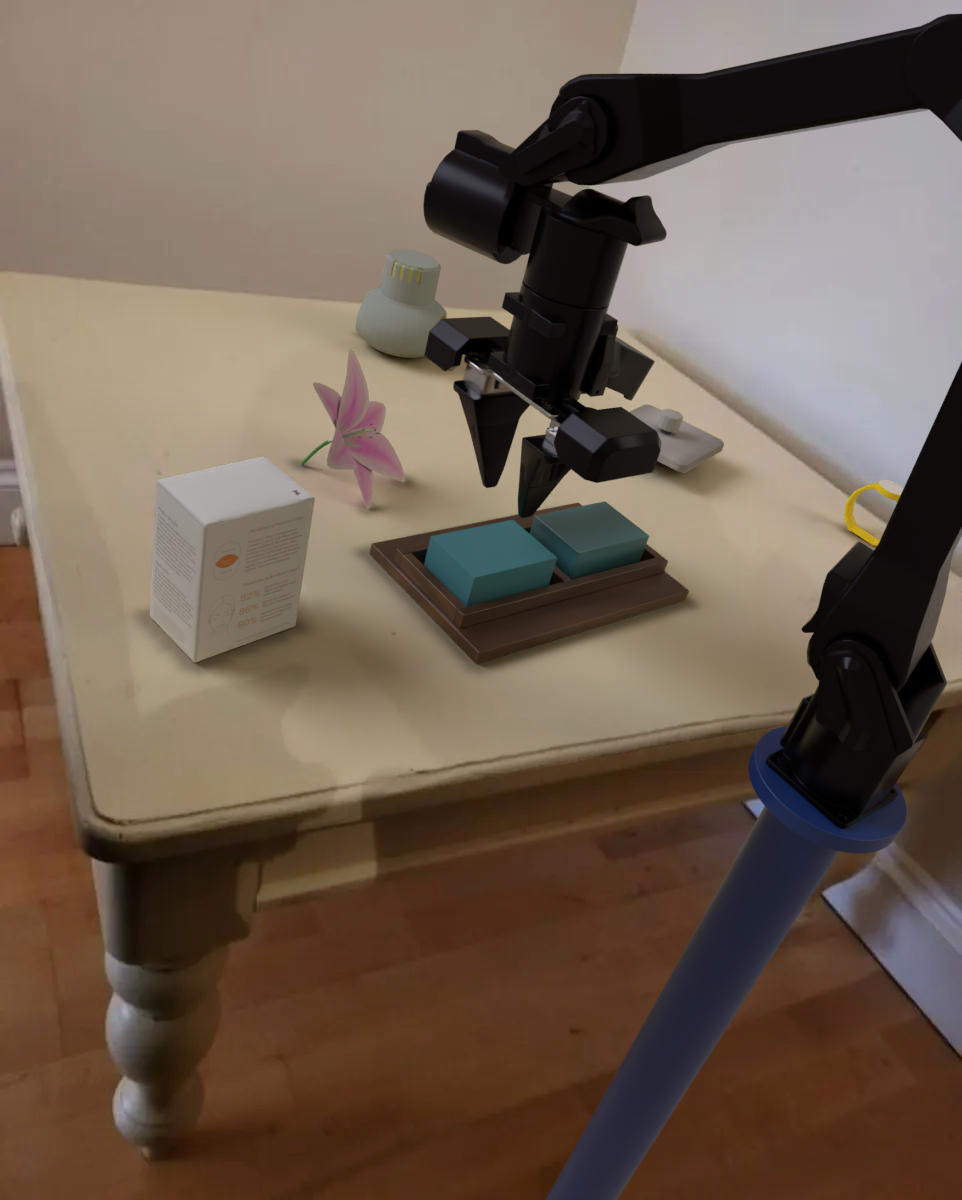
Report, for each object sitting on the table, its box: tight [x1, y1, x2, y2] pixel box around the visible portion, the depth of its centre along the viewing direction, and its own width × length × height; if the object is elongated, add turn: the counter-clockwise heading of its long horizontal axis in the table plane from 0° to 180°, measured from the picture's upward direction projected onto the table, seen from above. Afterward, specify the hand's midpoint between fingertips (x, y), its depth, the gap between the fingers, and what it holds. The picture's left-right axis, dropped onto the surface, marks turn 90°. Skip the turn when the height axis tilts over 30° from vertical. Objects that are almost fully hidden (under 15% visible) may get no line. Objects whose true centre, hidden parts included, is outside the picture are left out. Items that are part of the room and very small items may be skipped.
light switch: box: [629, 403, 725, 473], centre depth 104 cm, size 10×10×5 cm
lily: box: [300, 348, 406, 510], centre depth 85 cm, size 12×12×10 cm
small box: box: [149, 455, 316, 663], centre depth 65 cm, size 8×6×10 cm
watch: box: [843, 479, 904, 547], centre depth 99 cm, size 6×3×6 cm, turn 46°
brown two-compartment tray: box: [369, 501, 690, 664], centre depth 80 cm, size 14×22×4 cm, turn 127°
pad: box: [424, 520, 557, 607], centre depth 76 cm, size 6×8×3 cm
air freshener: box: [355, 248, 448, 359], centre depth 110 cm, size 11×8×10 cm
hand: (507, 501), depth 73 cm, fingers open, 4 cm apart
